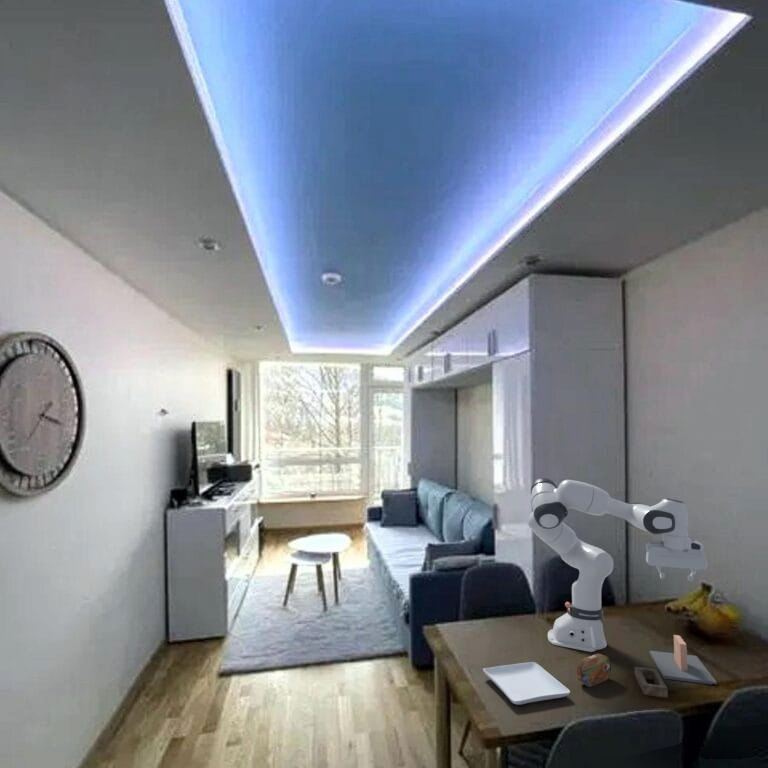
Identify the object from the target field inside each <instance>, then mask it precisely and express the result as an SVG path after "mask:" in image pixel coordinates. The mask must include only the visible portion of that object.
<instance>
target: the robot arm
mask: <svg viewBox="0 0 768 768" xmlns="http://www.w3.org/2000/svg"><path fill="white" fill-rule="evenodd" d="M530 496H531V498H530V500H531V501H530V502H531V507H532V512H530V514H529V515H528V518H527V525H528V527H529V529H530V530H531V531H532V532H533V533H534V534H535V535H536V536H537V537H538V538H539V539H540V540H541V541H542V542H544V544H546V545H547V546H549V547H550V548H551V549H552V550H553V551H555V552H556V553H558V555H559V557H560V558H561V560H563V562H565V563H566V564H567V565H568V566H570V567H572V568H574V569H577V570H578V571H579V574H578V578H577V580H575V581H574V582H573V583H572V585H571V603H570V602H569V601H566V602H565V603H564V606H565V608H566V613H564V614H563V615H561V616H559V617H557V618H556V619H555V621H554V623H553V628H552V629H549V630H548V632H547V641H549V643H551V644H552V645H553V646H554V645H555V646H558V647H564V648H569V649H575V650H580V651H584V652H590V653H592V652H593V653H594V652H595V651H598V650H602V649H605V648H606V647H607V646H608V643H607V640H606V637H605V633H604V627H603V622H604V611H603V608H602V590H603V589H602V588H603V584H604V581H605V579H606V577H608V576H609V575H611V573H612V572H613V569H614V565H615V563H614V559H613V557H612V556H611V554H609V553H608V552H606V551H605V550H603V548H600V547H597V546H595V545H592V544H589V543H587V542H585V541H583V540H581V539H579V537H578V536H577V534H576V531H574V530H573V529H572V528H571V527H569V525H567V524H566V523H565V522H563V521H564V519H565V518H566V517H568V514H569V511H568V510H569V509H571V510H575V511H579V512H581V513H584V514H587V515H591V516H599V517H601V516H604V515H605V514H608V515H611V516H615V517H617V518H621V519H623V520H624V521H625V522H627V524H628V525H630V526H632V527H633V528H636V529H638V530H642V531H643V532H646V533H648V534H649V533H650V534H653V535H660V534H661V540H649V541H647V542H645V551H646V555H645V562H646V563H647V564H648V566H651V567H656V569H657V570H658V572H659V578H660V579H665V580H666V573H664V572H662V569H663V568H676V569H687V570H690V571H691V572H690V574H687V581H689V582H694V579H695V578H694V577H695V575H696V574H697V573H698V571H700V570H701V571H706V570H707V569H708V566H709V565H708V564H709V563H708V560H707V554H706V553H705V551H704V548H705V547H704V545H703V543H701V542H700V541H697V540H695V539H692V538H690V537H689V535H690V534H689V532H688V526H689V514H688V509H687V505H686V504H685V503H684V502H683V501H681V500H677V499H672V498H663V499H662V500H661V501H660V502H658V503H656V504H654V505H652V506H650V505H647V504H645V503H641V502H630V503H629V502H624V501H622V500H618V499H615V498H612V497H611V496H610V494H609V493H608V491H606V490H604V489H603V488H600V487H598V486H597V485H593V484H589V483H587V482H584V481H579V480H573V479H565V480H563V481H561V482H560V483H559V485H558V486H557V485H556V483H555V482H554V481H553V480H551V479H549V478H546V477H542V478H538V479H536V480H535V481H533V483H532V484H531V487H530ZM697 570H698V571H697Z"/></svg>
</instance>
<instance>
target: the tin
mask: <svg viewBox="0 0 768 768" xmlns="http://www.w3.org/2000/svg"><path fill="white" fill-rule="evenodd" d="M611 671H612V662H611V660H610V657H608V656H607V655H605V654H602V653H595V654H592V655H590V656H587V657H584V658H582V659H580V660H579V662H578V663H577V666H576V673H577V680H578V681H579V682H580V684H582V685H584V686H586V687H589V688H591V687H594V686H596V685H599V684H601V683H605V682H606V681H607V680H609V677H610V676H611Z"/></svg>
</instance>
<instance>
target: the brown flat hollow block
mask: <svg viewBox="0 0 768 768" xmlns="http://www.w3.org/2000/svg"><path fill="white" fill-rule="evenodd" d="M634 677H635V679H636V681H637V682H638V685H639V688H640V689H641V692H642V694H643V696H648V697H649V696H651V697H658V698H665V699H668V697H669V696H668V695H669V694H668V687H667V685H666V683H665V682H664V680H663V678H662V676H661V673H659V671H658V670H657V669H655V668H650V667H640V666H634ZM647 680H651V681H654V684H653V683H648V682H647Z"/></svg>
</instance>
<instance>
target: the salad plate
mask: <svg viewBox="0 0 768 768" xmlns="http://www.w3.org/2000/svg"><path fill="white" fill-rule="evenodd" d="M482 671H483V673H484V674H485V675H486V676H487V677H488V678H489V680H491V682H492V683H493V684H495V685H496V686H497V687H498V689H499V690H500V691H501V692H502V693H503V694H504V695H505V696H506V697H507V698H508V699H509V701H510V702H511V703H512V704H514V705H519V706H520V705H524V704H530V703H536V702H540V701H541V702H543V701H547V700H554V699H560V698H564V697H567V696H569V695H570V693H571V691H570V689H569V688H568V687H566V685H564V684H563V683H562V682H560V681H559V680H557V678H555V676H553V675H552V674H550V673H549V672H548V671H547V670H545V668H543V667H542V666H541V665H539V664H538V663H537V662H533V661H531V662H522V663H513V664H505V665H497V666H492V667H484V668H482Z"/></svg>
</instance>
